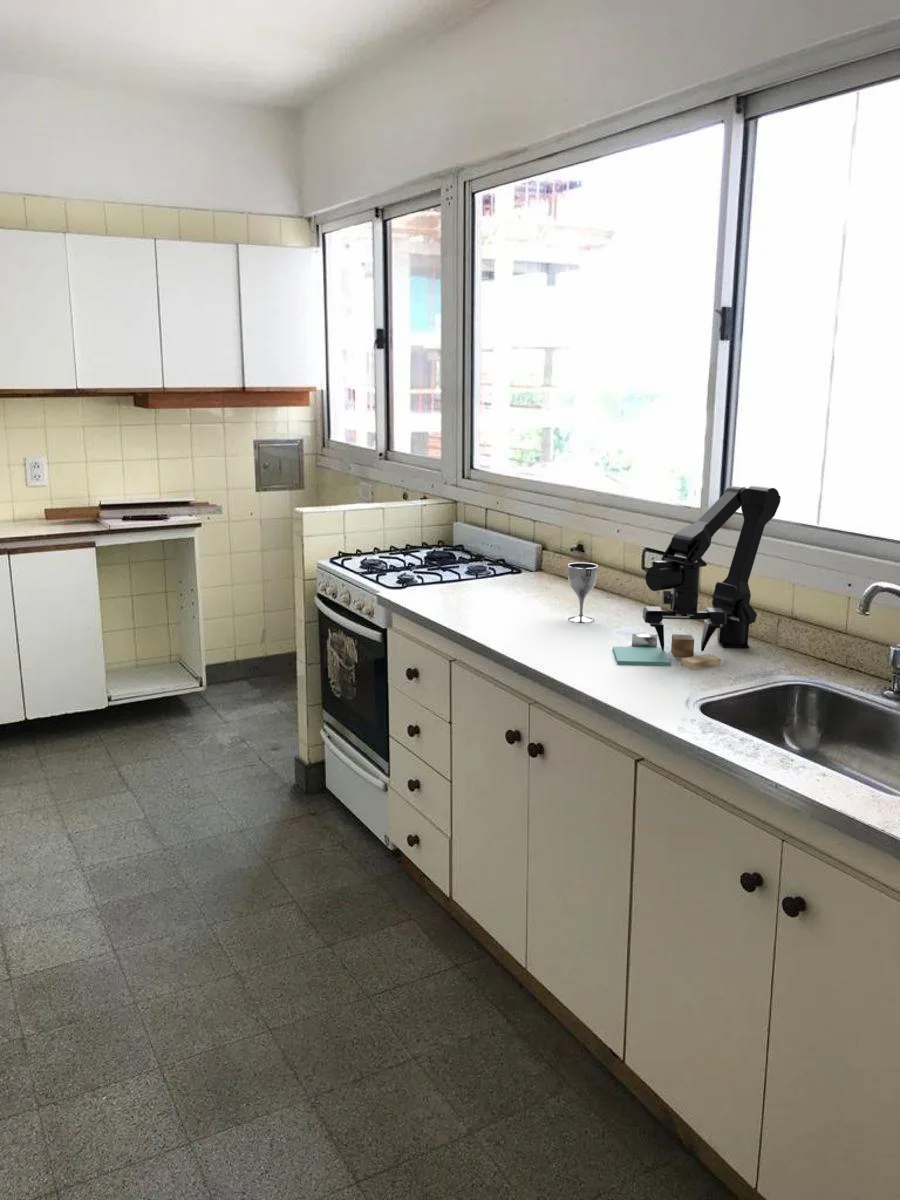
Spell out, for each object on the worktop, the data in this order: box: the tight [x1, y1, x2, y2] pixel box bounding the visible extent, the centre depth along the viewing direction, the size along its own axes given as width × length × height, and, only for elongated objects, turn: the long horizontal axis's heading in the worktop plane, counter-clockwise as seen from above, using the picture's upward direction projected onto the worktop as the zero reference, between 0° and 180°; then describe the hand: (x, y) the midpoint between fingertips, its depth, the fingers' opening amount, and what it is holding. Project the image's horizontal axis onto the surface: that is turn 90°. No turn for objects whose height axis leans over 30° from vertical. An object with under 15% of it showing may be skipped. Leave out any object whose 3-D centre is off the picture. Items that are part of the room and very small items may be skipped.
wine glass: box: [567, 562, 599, 624], centre depth 262 cm, size 8×8×15 cm
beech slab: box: [680, 653, 722, 671], centre depth 223 cm, size 8×4×2 cm, turn 115°
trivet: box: [612, 646, 672, 666], centre depth 229 cm, size 12×12×1 cm
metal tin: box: [631, 631, 658, 648], centre depth 238 cm, size 6×6×3 cm
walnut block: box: [670, 633, 695, 659], centre depth 231 cm, size 4×4×4 cm
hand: (682, 650), depth 231 cm, fingers open, 9 cm apart
